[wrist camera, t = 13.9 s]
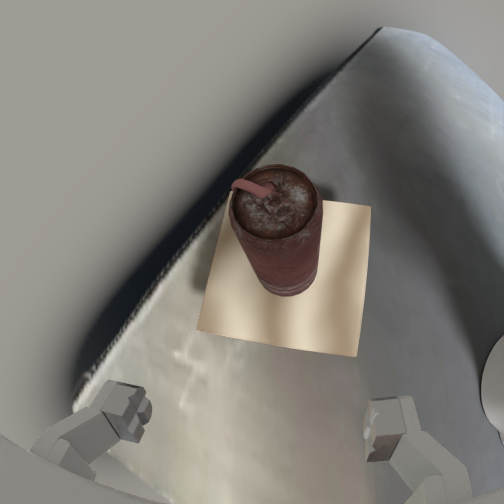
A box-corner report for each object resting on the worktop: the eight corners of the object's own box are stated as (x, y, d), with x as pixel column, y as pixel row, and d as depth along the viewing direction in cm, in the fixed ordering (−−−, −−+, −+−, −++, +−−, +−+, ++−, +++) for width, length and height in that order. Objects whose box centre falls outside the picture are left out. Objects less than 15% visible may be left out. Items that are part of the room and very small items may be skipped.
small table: (361, 233, 40) (371, 206, 33) (347, 358, 35) (356, 356, 28) (242, 218, 43) (230, 191, 37) (215, 336, 38) (196, 329, 32)
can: (267, 232, 34) (243, 149, 21) (324, 250, 32) (334, 172, 20) (245, 285, 33) (205, 226, 20) (305, 306, 31) (305, 258, 18)
